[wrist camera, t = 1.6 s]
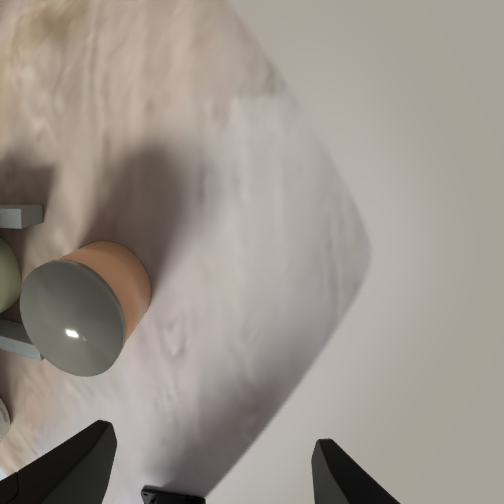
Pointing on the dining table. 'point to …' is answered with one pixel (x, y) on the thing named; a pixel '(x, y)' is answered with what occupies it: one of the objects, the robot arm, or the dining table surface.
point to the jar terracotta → (85, 306)
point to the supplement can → (4, 420)
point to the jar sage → (8, 277)
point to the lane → (6, 331)
